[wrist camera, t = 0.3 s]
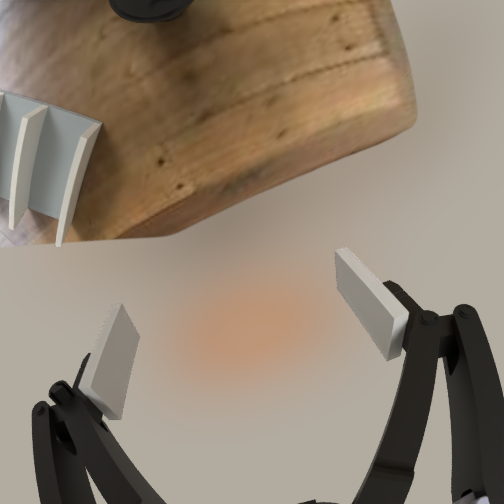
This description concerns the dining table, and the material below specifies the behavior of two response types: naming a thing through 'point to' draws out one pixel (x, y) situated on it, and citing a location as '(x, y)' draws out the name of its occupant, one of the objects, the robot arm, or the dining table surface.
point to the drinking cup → (149, 9)
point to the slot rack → (43, 158)
